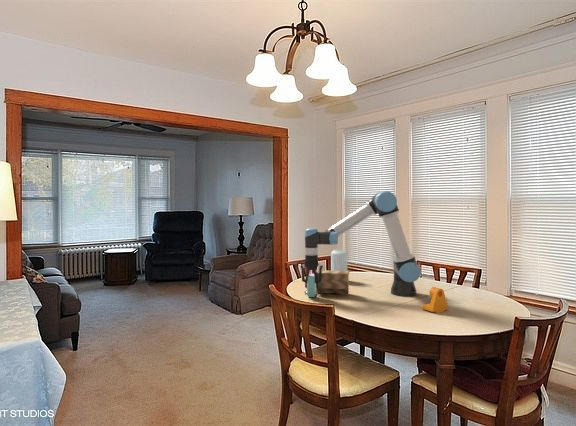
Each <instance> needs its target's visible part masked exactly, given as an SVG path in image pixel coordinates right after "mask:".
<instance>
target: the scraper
mask: <svg viewBox="0 0 576 426" xmlns="http://www.w3.org/2000/svg"><path fill="white" fill-rule="evenodd" d="M315 282H316V280H315V276H311V275H310V274H309V276H308V295H307V297H308V298H315V297H316V296H317V294H315Z"/></svg>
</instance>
